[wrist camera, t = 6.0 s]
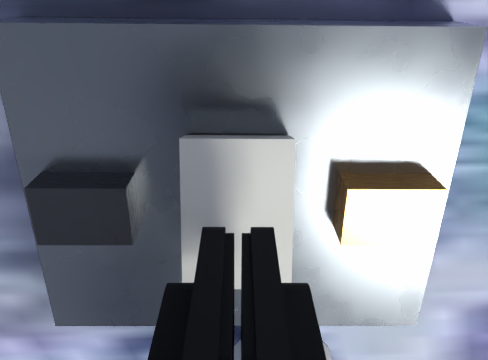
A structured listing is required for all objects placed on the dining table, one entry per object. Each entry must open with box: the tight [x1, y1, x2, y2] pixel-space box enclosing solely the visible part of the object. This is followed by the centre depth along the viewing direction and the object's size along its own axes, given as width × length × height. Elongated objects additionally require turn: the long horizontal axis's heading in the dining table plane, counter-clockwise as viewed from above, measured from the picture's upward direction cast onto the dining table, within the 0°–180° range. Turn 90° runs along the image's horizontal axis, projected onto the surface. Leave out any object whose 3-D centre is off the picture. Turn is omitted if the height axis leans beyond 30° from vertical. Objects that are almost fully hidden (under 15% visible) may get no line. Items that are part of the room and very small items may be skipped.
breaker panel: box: [0, 17, 488, 326], centre depth 14 cm, size 11×14×3 cm
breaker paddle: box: [179, 135, 296, 289], centre depth 13 cm, size 4×3×1 cm
